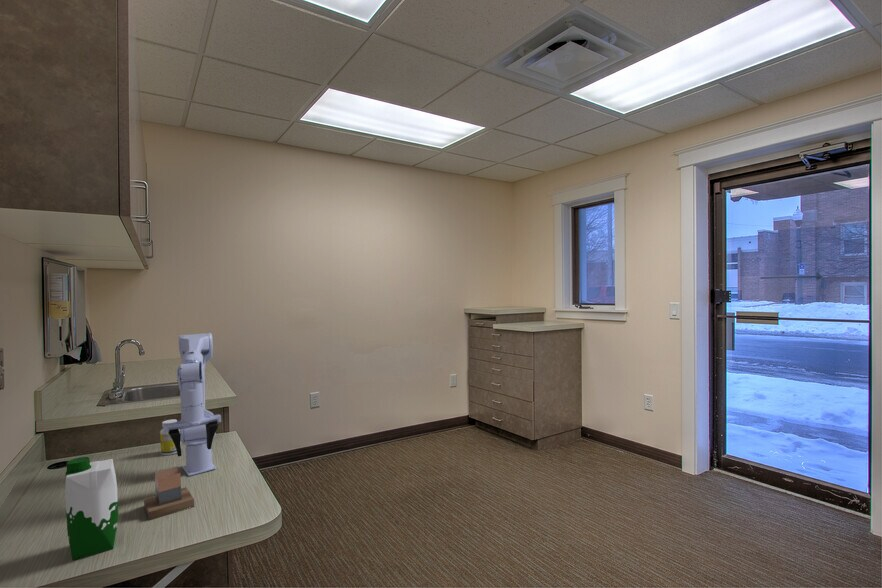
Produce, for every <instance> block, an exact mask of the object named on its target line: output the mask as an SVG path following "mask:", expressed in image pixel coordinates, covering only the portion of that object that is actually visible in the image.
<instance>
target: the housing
mask: <svg viewBox="0 0 882 588" xmlns="http://www.w3.org/2000/svg"><path fill="white" fill-rule="evenodd" d="M181 478H182V477H181V472H180V471H179V469H178V467H177V466H173V467H169V468H165V469H161V470H157V471H154V486H155V489H154V491H155V496H156V500H157V502H158V504H159V506H161V505H165V504H168V503H172V502H175V501H179V500H182V497H181V489H182V483H181V482H182V480H181Z"/></svg>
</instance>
